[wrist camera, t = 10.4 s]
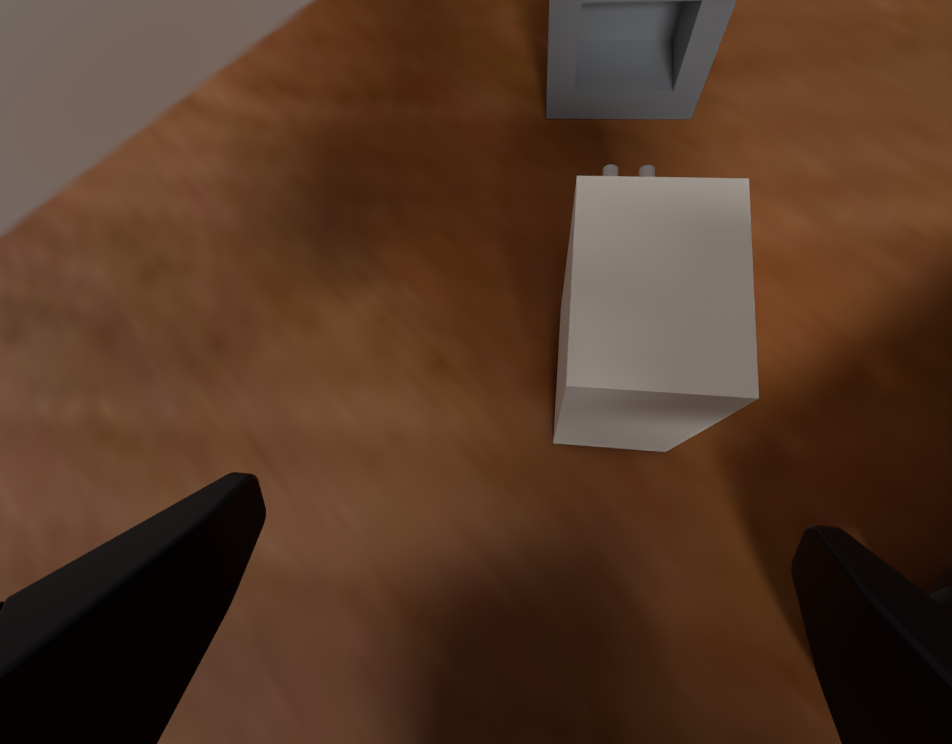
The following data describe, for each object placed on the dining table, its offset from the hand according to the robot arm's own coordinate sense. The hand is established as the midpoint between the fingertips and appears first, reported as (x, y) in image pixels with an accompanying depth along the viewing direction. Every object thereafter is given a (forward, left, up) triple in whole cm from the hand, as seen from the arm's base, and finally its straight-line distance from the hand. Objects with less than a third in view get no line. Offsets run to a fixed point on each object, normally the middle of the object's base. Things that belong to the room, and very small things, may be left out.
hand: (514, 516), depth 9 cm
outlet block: (+21, +6, -14) cm, 26 cm away
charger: (+9, +1, -13) cm, 16 cm away
